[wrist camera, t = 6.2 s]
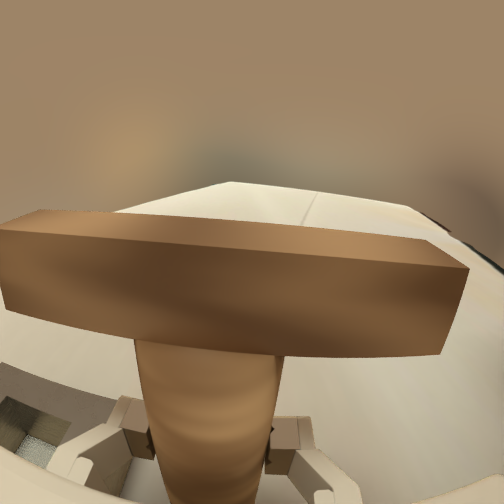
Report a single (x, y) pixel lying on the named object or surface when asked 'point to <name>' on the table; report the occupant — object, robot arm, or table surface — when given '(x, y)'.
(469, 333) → the table surface
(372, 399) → the table surface
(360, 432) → the table surface
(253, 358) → the chuck key
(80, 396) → the block
